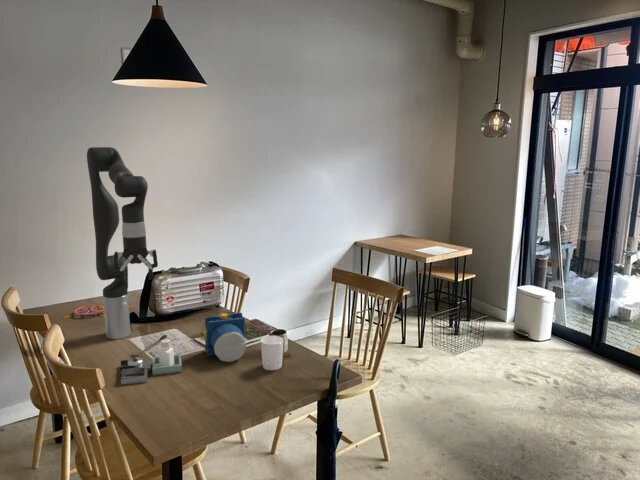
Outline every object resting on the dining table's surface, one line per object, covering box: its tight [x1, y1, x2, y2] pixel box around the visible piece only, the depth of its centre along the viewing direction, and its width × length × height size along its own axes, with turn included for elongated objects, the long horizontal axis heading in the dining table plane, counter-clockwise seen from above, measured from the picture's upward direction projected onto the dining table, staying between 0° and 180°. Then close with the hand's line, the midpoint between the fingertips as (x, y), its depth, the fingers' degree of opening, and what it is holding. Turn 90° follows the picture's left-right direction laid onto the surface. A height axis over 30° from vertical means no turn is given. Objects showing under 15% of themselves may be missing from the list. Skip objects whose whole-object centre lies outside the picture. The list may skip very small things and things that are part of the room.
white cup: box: [260, 335, 284, 371], centre depth 180 cm, size 8×8×10 cm
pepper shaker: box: [158, 338, 175, 367], centre depth 178 cm, size 4×4×10 cm
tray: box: [151, 353, 183, 377], centre depth 179 cm, size 10×10×3 cm
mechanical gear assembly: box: [63, 302, 135, 319], centre depth 236 cm, size 30×4×15 cm
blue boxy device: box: [203, 312, 247, 363], centre depth 188 cm, size 13×15×15 cm
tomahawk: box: [130, 334, 168, 358], centre depth 197 cm, size 21×7×1 cm, turn 163°
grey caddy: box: [118, 356, 152, 386], centre depth 174 cm, size 15×10×4 cm, turn 17°
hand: (137, 280), depth 179 cm, fingers open, 8 cm apart
